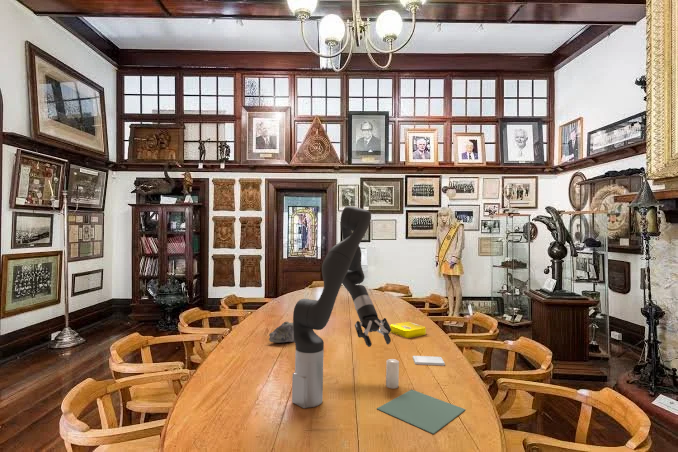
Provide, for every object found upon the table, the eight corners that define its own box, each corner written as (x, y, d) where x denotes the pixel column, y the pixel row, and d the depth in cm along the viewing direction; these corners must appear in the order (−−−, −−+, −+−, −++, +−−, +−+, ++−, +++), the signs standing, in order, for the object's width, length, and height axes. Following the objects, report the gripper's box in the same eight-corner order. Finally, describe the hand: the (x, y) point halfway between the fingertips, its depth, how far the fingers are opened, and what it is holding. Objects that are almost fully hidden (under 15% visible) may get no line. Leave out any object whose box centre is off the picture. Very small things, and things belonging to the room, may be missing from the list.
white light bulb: (393, 389, 133) (394, 364, 133) (383, 385, 136) (383, 361, 136) (400, 386, 137) (401, 361, 137) (390, 382, 140) (391, 358, 140)
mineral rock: (268, 345, 180) (268, 324, 180) (271, 338, 191) (272, 318, 191) (295, 345, 181) (295, 324, 181) (297, 338, 191) (297, 319, 191)
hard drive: (440, 356, 166) (412, 355, 167) (444, 363, 158) (415, 361, 159) (440, 360, 166) (412, 358, 167) (444, 367, 158) (414, 365, 159)
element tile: (427, 335, 204) (427, 326, 204) (407, 339, 196) (407, 330, 196) (407, 328, 217) (407, 320, 217) (388, 332, 208) (388, 323, 208)
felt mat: (433, 434, 105) (433, 433, 105) (376, 409, 119) (376, 408, 119) (465, 410, 119) (465, 409, 119) (411, 390, 133) (411, 389, 133)
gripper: (353, 304, 149) (367, 341, 139) (383, 302, 155) (399, 337, 145) (346, 315, 154) (360, 351, 144) (376, 312, 160) (391, 347, 150)
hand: (379, 344), depth 144 cm, fingers open, 8 cm apart
